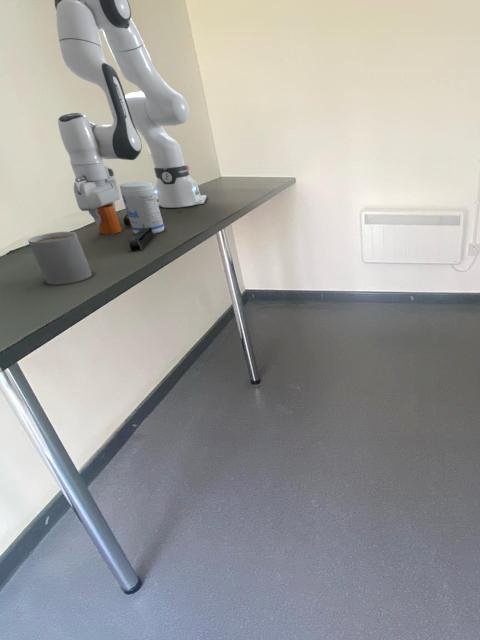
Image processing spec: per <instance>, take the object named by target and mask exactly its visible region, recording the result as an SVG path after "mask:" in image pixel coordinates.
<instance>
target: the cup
mask: <svg viewBox="0 0 480 640" xmlns="http://www.w3.org/2000/svg"><path fill="white" fill-rule="evenodd" d="M97 210H98V212H97V213H98V214H99V216H100V217H102V220H103V222H102V223H100V224H97V223H96V224H97V227H98V230H99V232H100V234H101V235H111V234H118V233H121V232H122V231H123V229H122V225H121V223H120V220H119V217H118V214H117V210H116V207H115V208H114V205H112V204H106V205H104V206H101V207H99V208H97Z"/></svg>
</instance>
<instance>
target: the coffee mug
mask: <svg viewBox="0 0 480 640" xmlns="http://www.w3.org/2000/svg"><path fill="white" fill-rule="evenodd" d="M28 245H29V246H30V248H31V251H32V253H33V256H34V257H35V260H36V263H37V264H38V267H39V269H40V272H41V273H42V276H43V278H44V280H45V283H46V284H48V285H53V286H57V285H58V286H59V285H68V284H73V283H78V282H81V281H84V280H87V279H88V278H90V277H92V275H93V273H92V270H91V268H90V264H89V263H88V259H87V257H86V255H85V252H84V249H83V246H82V244H81V242H80V240H79V237H78V234H77V233H76V232H74V231H56V232H49V233H45V234H44V233H43V234H39V235H36V236H33V237H32V236H31V237H30V238H28Z"/></svg>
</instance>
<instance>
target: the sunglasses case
mask: <svg viewBox="0 0 480 640" xmlns="http://www.w3.org/2000/svg"><path fill="white" fill-rule="evenodd" d="M123 223H124V226H126V227H127V228H132V227H131V223H130V220H129V217H128V214H127V213H126V215H125V216H124V218H123Z"/></svg>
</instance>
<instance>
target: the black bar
mask: <svg viewBox="0 0 480 640" xmlns="http://www.w3.org/2000/svg"><path fill="white" fill-rule="evenodd" d="M154 235H155V234H153V231H152V228H151V227H148V228H142V229H141V230H140V231H139V232H138V233H136V234H135V233H134V235H133V236H132V237H131V238H130V239H129V240H128V246H129V248H130V250H131V251H134V252H135V251H142V250H143V249H144V248H145V247H146V246H147V244H148V243H149V242H150V240H151V239H153V237H154Z"/></svg>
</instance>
